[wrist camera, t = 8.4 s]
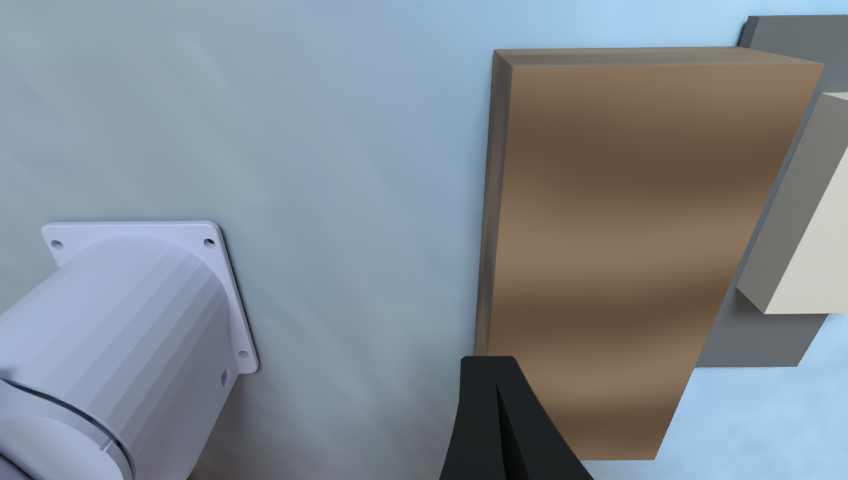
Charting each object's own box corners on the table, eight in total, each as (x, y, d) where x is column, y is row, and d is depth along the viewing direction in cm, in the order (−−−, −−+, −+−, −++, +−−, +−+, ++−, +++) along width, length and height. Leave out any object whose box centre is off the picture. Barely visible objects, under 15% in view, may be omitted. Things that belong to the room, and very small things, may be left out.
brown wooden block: (623, 395, 26) (654, 459, 22) (471, 397, 26) (478, 460, 22) (738, 46, 16) (825, 63, 12) (493, 49, 16) (513, 67, 13)
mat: (789, 358, 24) (796, 366, 23) (635, 359, 24) (639, 367, 24) (989, 12, 15) (1009, 13, 15) (748, 16, 15) (759, 17, 15)
